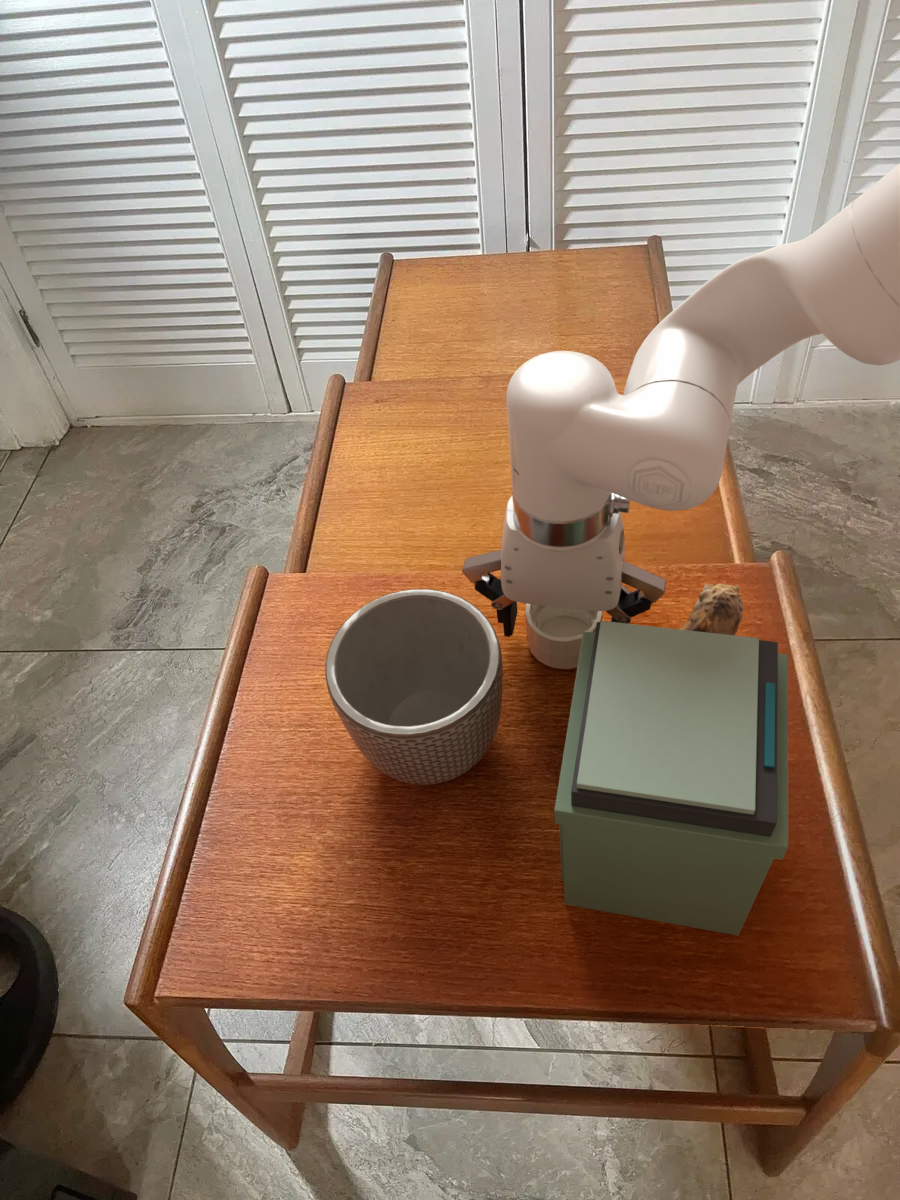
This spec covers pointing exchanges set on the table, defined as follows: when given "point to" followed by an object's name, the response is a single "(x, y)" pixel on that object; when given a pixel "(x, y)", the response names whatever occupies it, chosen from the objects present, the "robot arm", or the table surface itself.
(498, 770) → the table surface
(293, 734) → the table surface
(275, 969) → the table surface
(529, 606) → the bowl
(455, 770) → the planter
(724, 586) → the lion figurine
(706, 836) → the stand
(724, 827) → the scale
